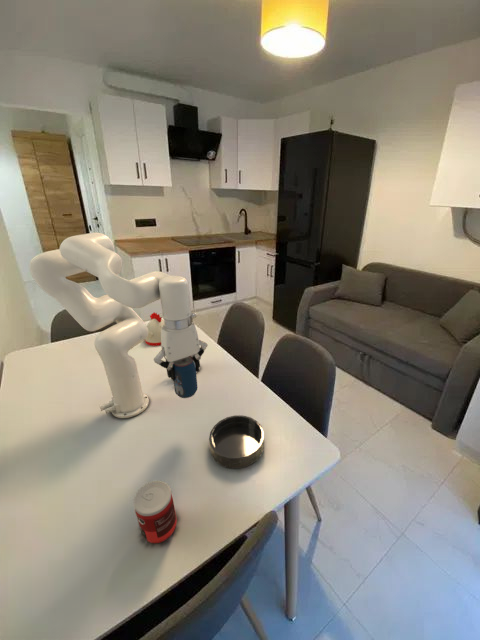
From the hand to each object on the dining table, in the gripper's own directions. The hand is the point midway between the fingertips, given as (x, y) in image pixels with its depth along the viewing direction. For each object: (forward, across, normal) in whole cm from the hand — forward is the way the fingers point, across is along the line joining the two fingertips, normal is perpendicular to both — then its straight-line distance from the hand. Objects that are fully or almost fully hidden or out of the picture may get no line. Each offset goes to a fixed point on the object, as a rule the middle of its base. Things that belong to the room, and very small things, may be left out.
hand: (184, 373), depth 88 cm
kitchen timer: (+22, -11, -66) cm, 70 cm away
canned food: (+21, +19, +25) cm, 38 cm away
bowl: (+21, -8, +16) cm, 28 cm away
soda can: (+7, 0, 0) cm, 7 cm away
